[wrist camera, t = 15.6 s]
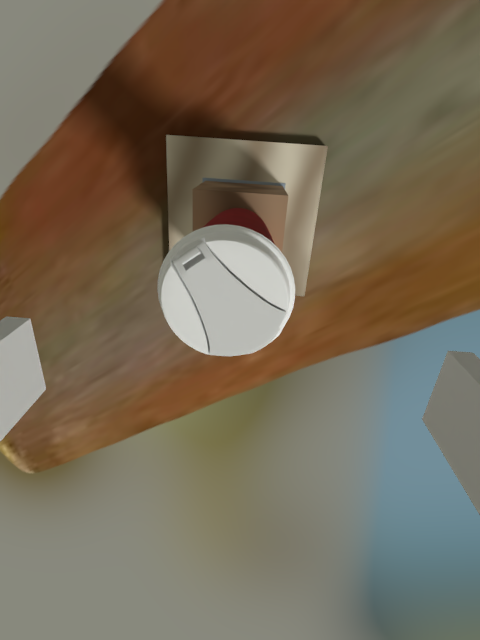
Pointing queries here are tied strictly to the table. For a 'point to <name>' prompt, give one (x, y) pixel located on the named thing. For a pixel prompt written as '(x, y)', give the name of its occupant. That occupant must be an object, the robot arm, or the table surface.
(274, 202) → the walnut block
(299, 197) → the blueprint plate
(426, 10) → the table surface
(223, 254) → the paper cup
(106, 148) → the table surface
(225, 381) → the table surface
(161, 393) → the table surface
